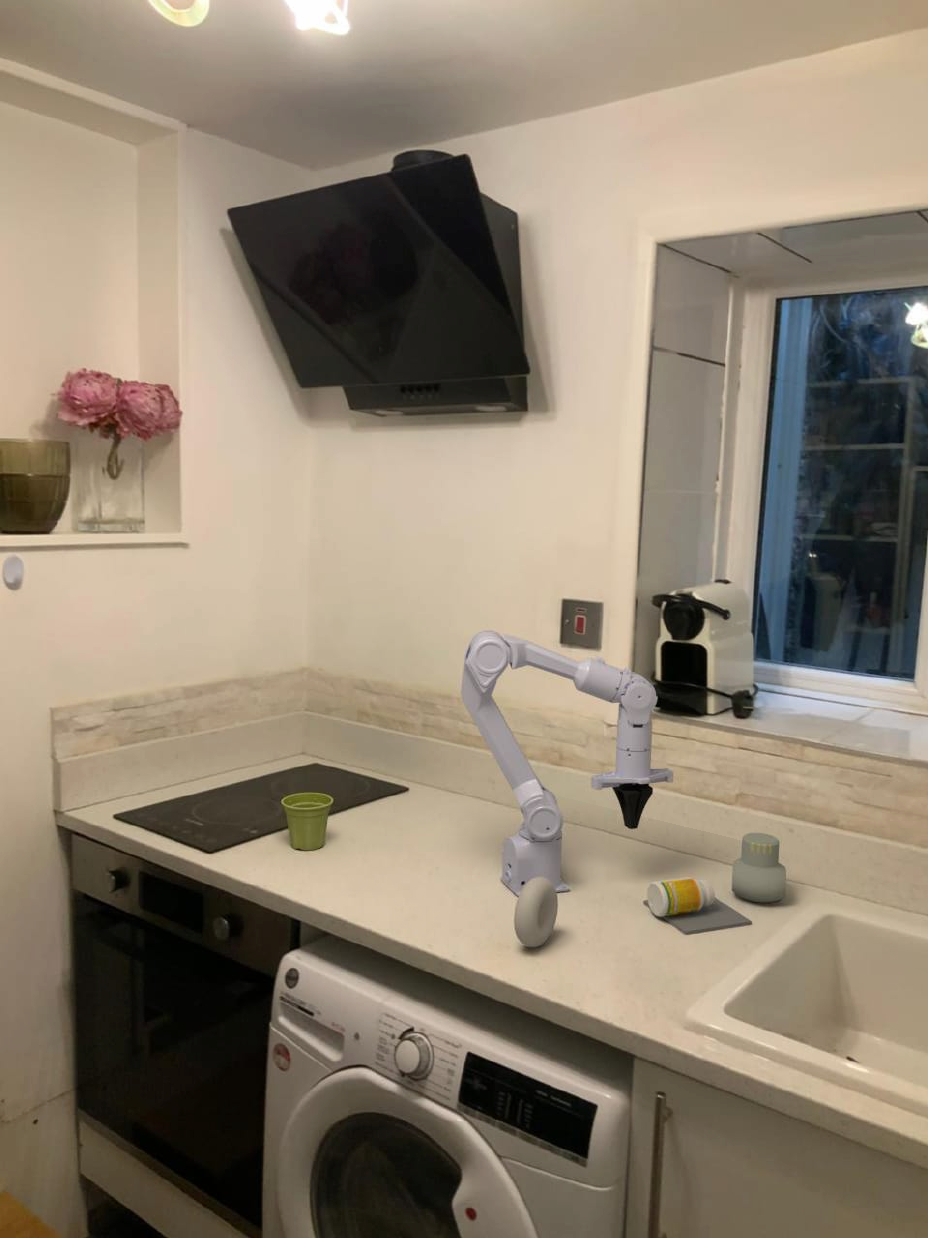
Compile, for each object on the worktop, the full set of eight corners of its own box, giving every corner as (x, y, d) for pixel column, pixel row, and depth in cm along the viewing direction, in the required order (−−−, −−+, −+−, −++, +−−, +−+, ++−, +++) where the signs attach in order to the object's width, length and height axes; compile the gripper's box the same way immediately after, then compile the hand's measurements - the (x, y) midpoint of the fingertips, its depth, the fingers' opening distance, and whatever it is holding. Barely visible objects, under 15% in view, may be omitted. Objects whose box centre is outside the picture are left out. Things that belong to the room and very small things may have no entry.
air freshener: (785, 912, 155) (789, 852, 154) (731, 905, 157) (735, 846, 156) (782, 887, 165) (785, 830, 164) (731, 881, 167) (735, 825, 166)
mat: (685, 935, 146) (685, 931, 146) (643, 903, 157) (643, 900, 157) (751, 924, 150) (752, 921, 150) (706, 894, 161) (706, 891, 161)
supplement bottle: (645, 878, 153) (697, 871, 157) (646, 912, 153) (698, 905, 156) (663, 886, 148) (717, 879, 152) (664, 921, 148) (718, 913, 151)
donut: (539, 929, 146) (542, 865, 145) (560, 935, 144) (563, 870, 143) (508, 955, 138) (510, 887, 137) (530, 961, 136) (532, 892, 135)
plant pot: (288, 857, 173) (288, 810, 172) (276, 840, 182) (276, 795, 181) (339, 851, 177) (339, 804, 176) (324, 834, 185) (325, 790, 184)
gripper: (607, 757, 154) (604, 839, 156) (684, 750, 160) (681, 829, 161) (586, 746, 161) (583, 825, 163) (661, 740, 166) (658, 817, 168)
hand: (630, 827), depth 162 cm, fingers closed
